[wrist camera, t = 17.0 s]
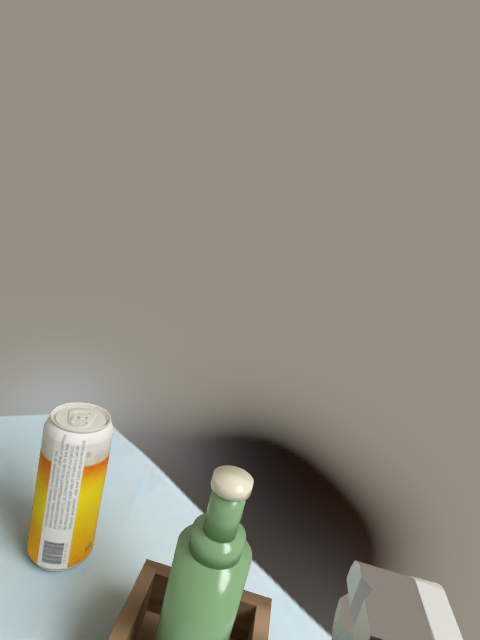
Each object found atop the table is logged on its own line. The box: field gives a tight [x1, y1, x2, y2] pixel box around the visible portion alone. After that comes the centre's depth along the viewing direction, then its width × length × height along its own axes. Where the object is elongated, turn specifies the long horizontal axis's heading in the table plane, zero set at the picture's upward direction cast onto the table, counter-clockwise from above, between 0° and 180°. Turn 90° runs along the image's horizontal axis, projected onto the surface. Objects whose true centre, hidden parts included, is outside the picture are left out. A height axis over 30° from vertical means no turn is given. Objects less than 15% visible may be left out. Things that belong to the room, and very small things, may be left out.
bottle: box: [154, 466, 254, 640], centre depth 32 cm, size 5×5×18 cm
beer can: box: [27, 403, 114, 572], centre depth 43 cm, size 6×6×15 cm
